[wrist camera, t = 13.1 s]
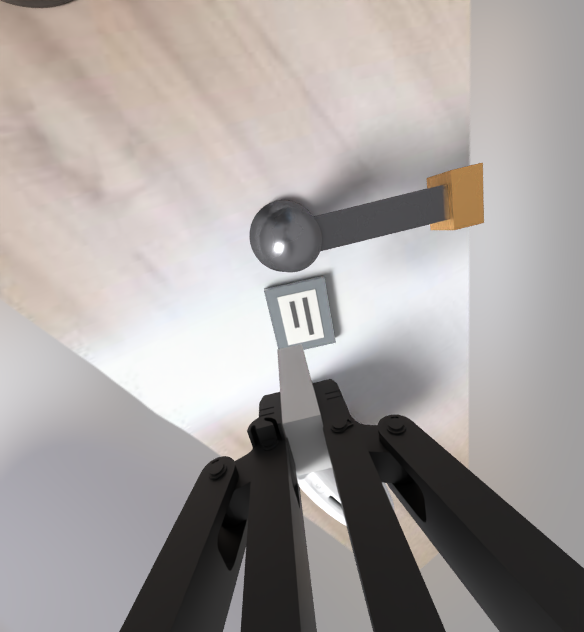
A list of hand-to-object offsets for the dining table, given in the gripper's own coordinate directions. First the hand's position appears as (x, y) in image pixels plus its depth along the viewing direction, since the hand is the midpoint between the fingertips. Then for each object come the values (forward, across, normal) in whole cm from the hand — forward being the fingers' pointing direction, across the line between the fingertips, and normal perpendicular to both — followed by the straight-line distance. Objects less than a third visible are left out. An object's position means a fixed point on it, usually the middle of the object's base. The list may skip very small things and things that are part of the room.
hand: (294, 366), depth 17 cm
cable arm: (+6, +7, +7) cm, 11 cm away
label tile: (+12, +2, -1) cm, 13 cm away
